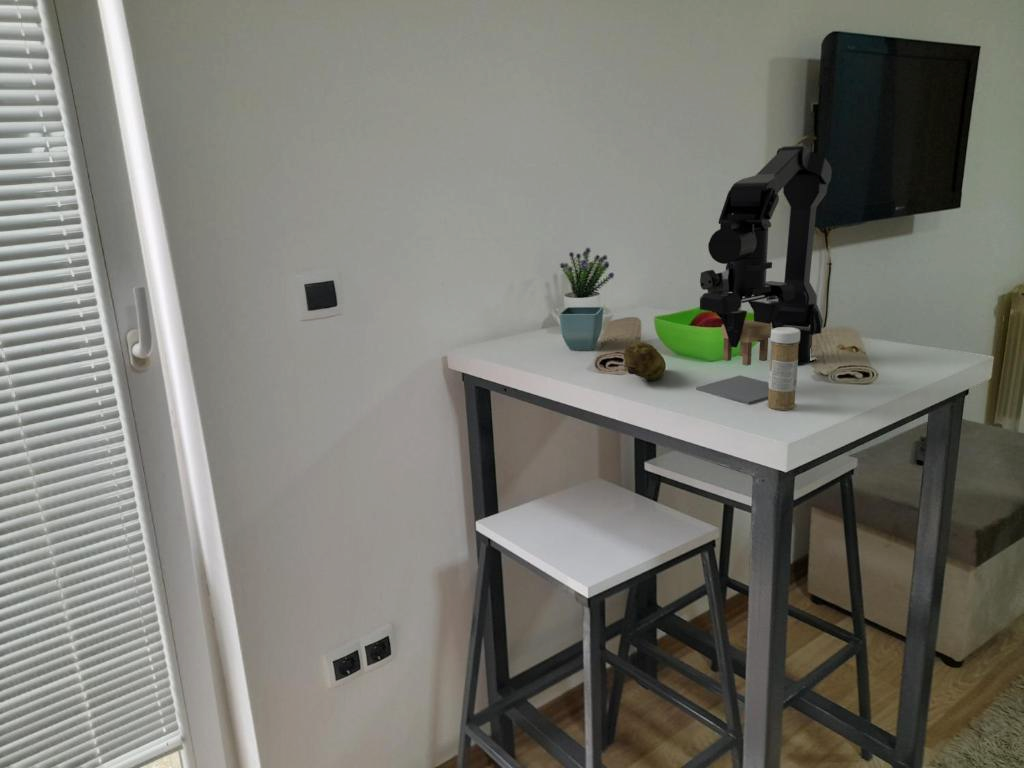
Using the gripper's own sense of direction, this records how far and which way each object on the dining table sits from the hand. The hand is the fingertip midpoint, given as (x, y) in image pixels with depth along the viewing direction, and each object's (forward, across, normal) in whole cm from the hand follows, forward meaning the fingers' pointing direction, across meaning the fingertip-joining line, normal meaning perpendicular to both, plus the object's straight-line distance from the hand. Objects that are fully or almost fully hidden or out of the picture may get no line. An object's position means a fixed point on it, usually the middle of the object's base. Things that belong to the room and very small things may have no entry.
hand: (746, 344), depth 132 cm
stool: (+3, 0, 0) cm, 3 cm away
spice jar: (+9, +3, +10) cm, 14 cm away
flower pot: (+9, +1, -46) cm, 47 cm away
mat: (+9, 0, 0) cm, 9 cm away
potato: (+9, +8, -17) cm, 21 cm away
